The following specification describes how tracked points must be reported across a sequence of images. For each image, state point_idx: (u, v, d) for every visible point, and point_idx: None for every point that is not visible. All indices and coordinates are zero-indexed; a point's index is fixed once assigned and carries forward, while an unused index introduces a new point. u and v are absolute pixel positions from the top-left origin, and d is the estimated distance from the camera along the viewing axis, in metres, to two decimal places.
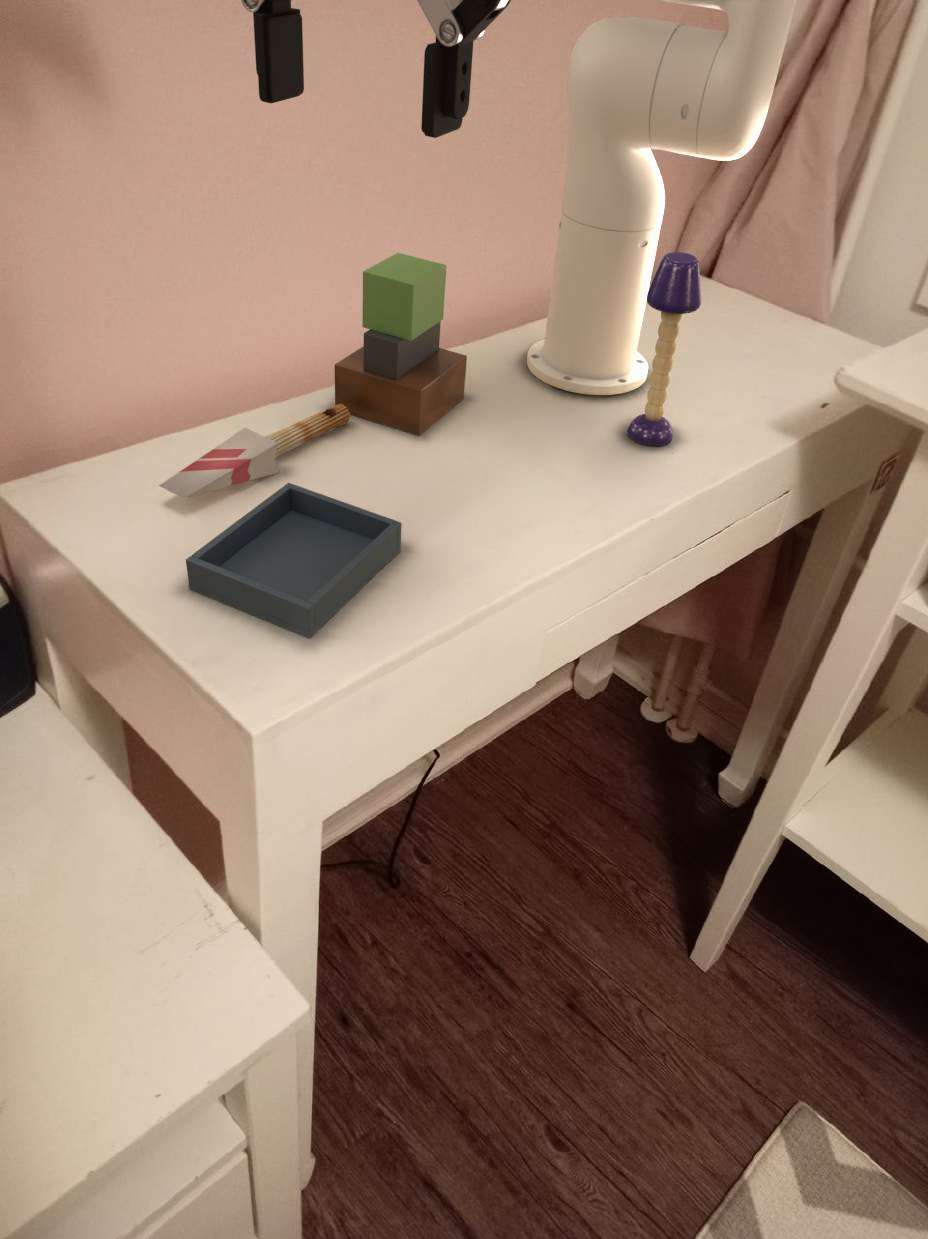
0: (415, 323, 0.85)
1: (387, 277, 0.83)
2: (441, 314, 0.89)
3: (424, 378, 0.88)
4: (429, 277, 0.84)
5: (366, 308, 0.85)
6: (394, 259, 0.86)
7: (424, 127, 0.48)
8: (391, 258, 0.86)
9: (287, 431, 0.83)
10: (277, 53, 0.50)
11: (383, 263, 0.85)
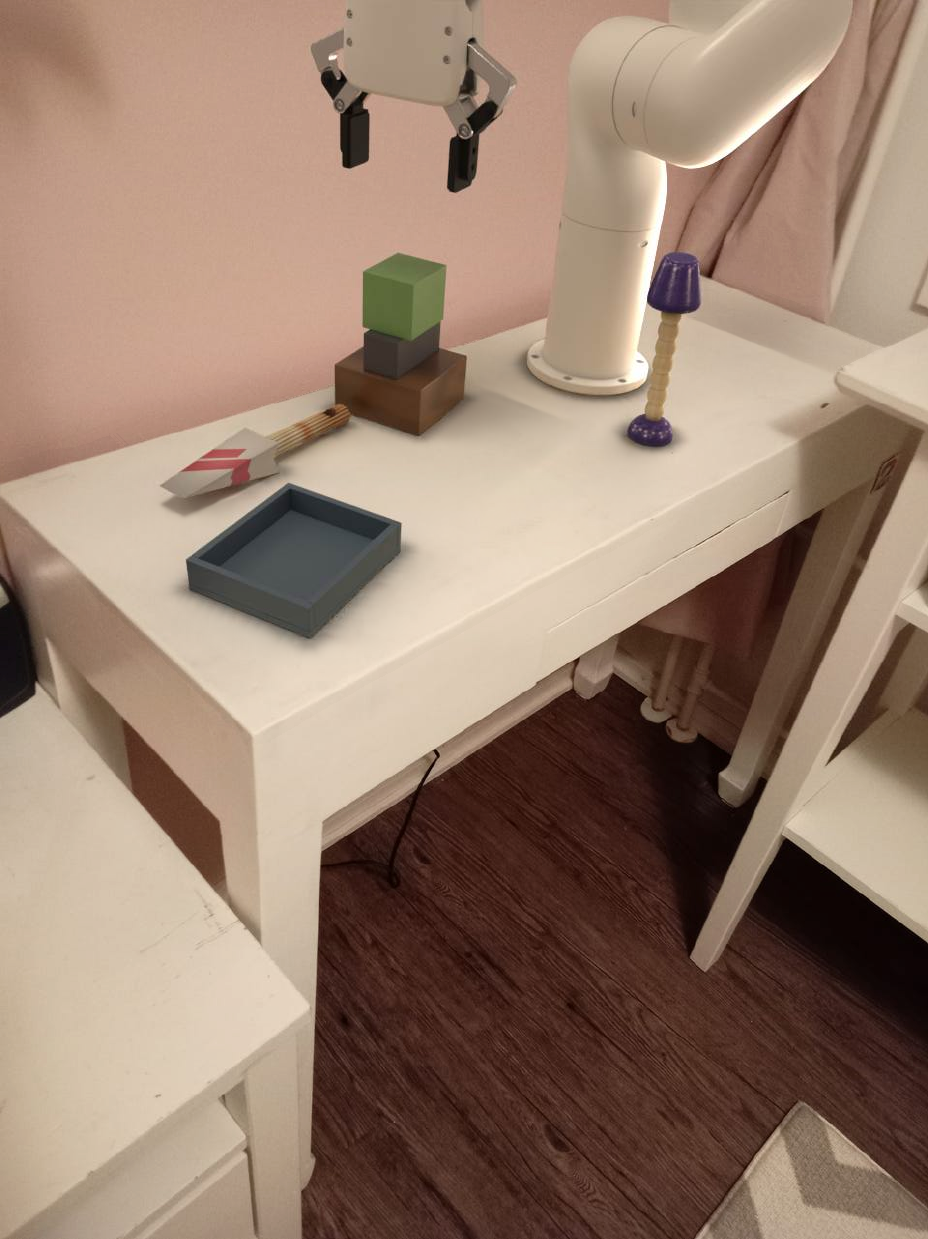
0: (415, 323, 0.85)
1: (387, 277, 0.83)
2: (441, 314, 0.89)
3: (424, 378, 0.88)
4: (429, 277, 0.84)
5: (366, 308, 0.85)
6: (394, 259, 0.86)
7: (448, 187, 0.77)
8: (391, 258, 0.86)
9: (287, 431, 0.83)
10: (354, 138, 0.79)
11: (383, 263, 0.85)
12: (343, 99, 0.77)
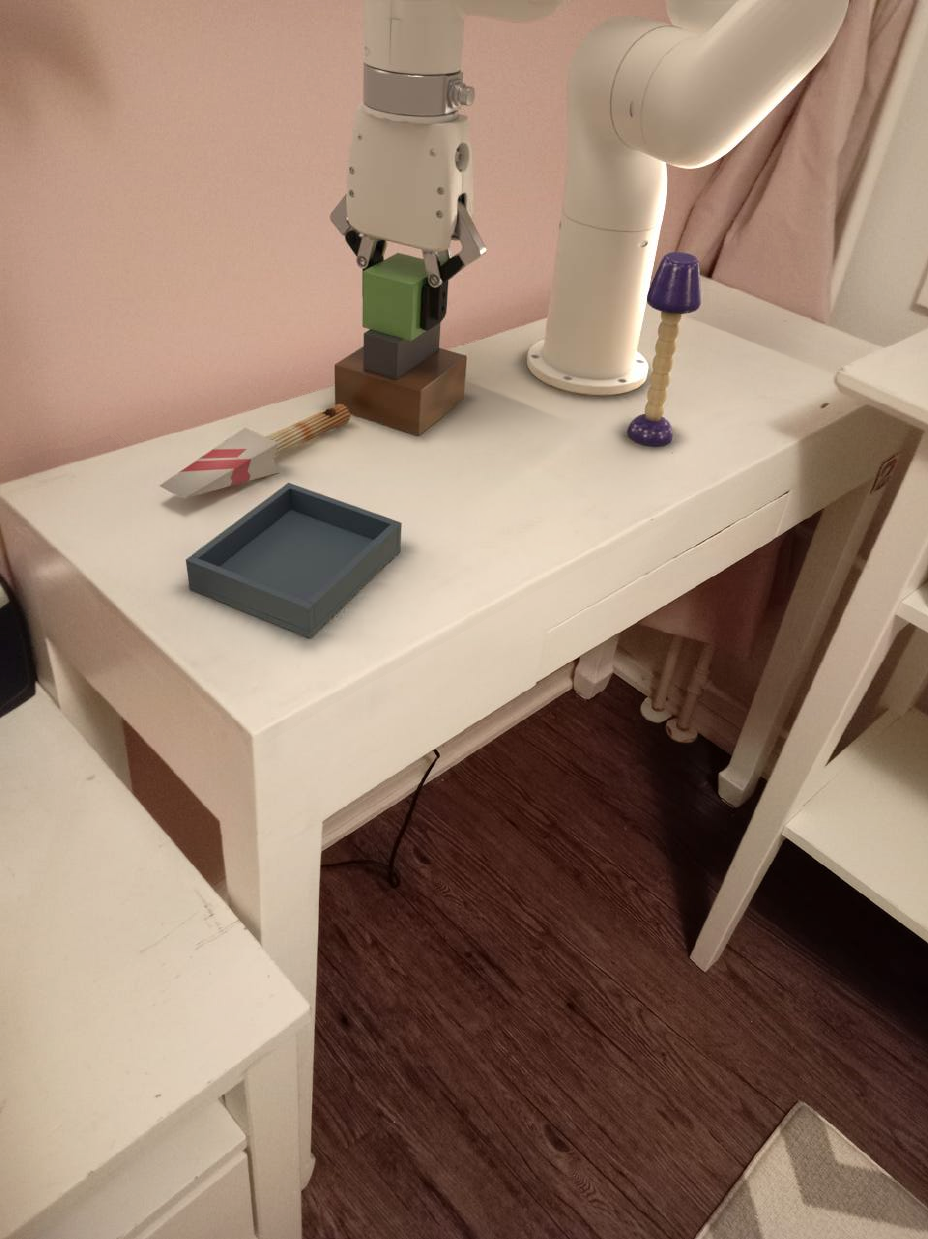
0: (415, 323, 0.85)
1: (387, 277, 0.83)
2: None
3: (424, 378, 0.88)
4: None
5: (366, 308, 0.85)
6: (394, 259, 0.86)
7: (421, 326, 0.86)
8: (391, 258, 0.86)
9: (287, 431, 0.83)
10: None
11: (383, 263, 0.85)
12: (363, 255, 0.85)
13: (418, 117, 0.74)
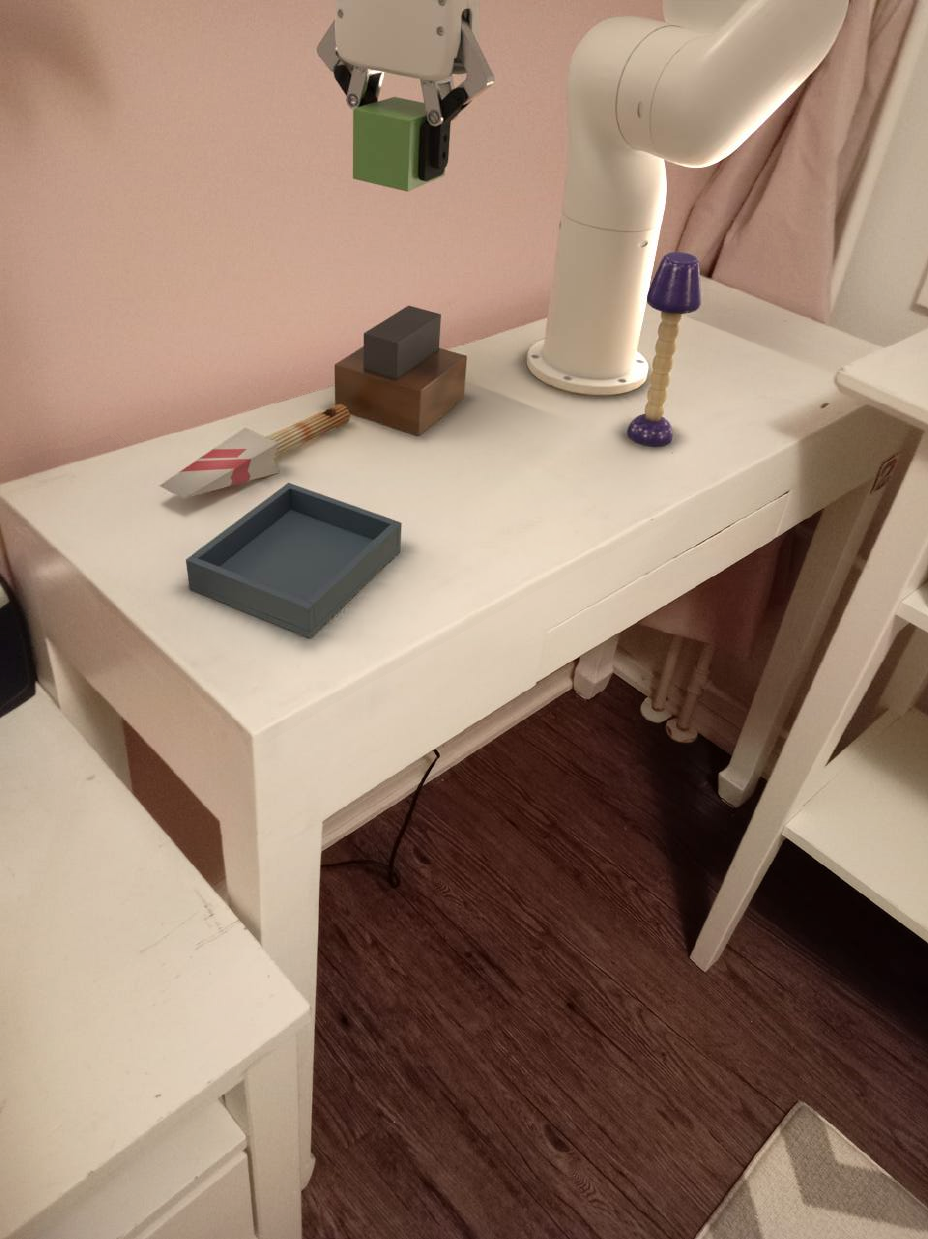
0: (412, 171, 0.74)
1: (380, 114, 0.73)
2: None
3: (424, 378, 0.88)
4: None
5: (357, 154, 0.75)
6: (389, 101, 0.76)
7: (419, 175, 0.75)
8: (386, 100, 0.76)
9: (287, 431, 0.83)
10: None
11: (377, 103, 0.75)
12: (354, 92, 0.74)
13: None
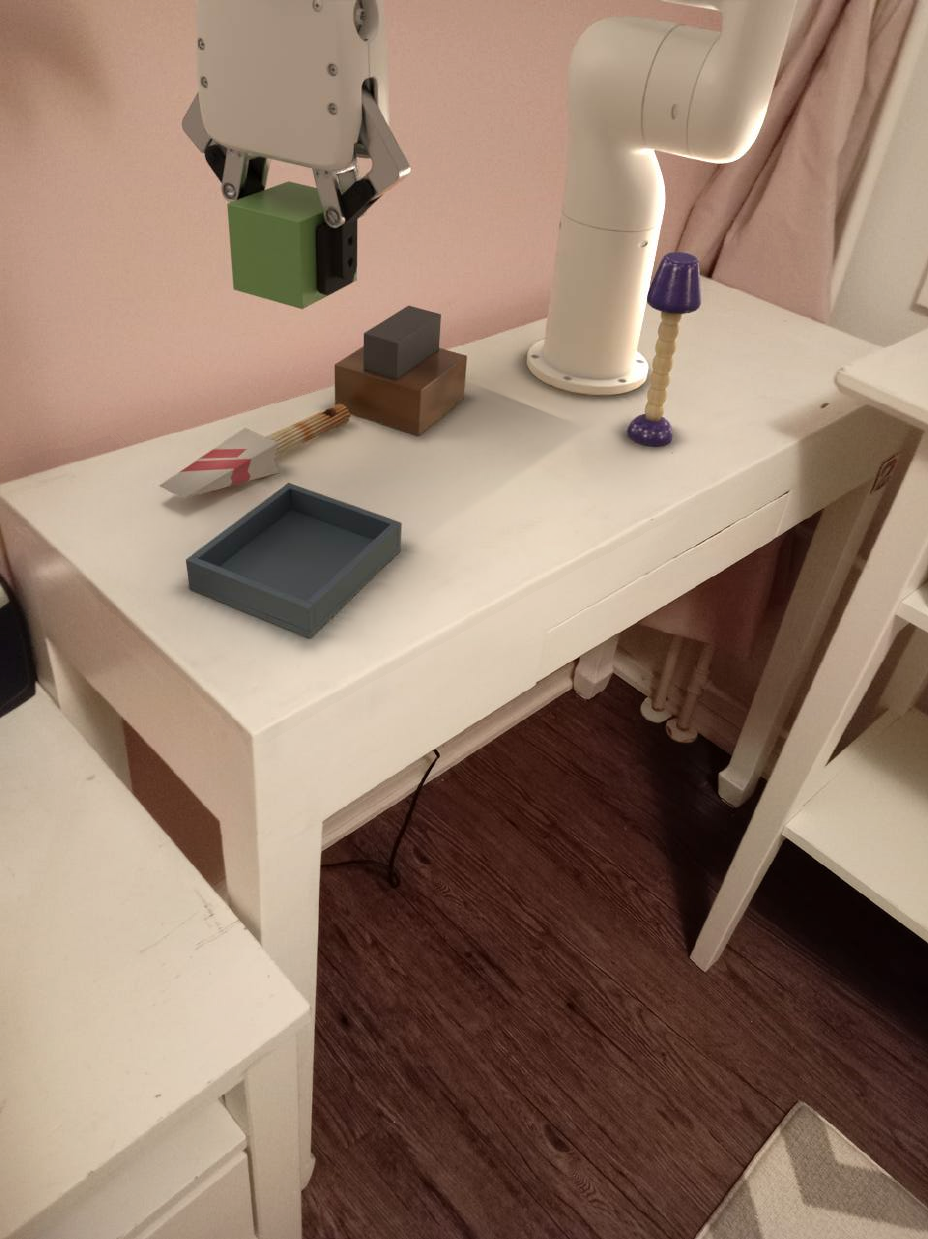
0: (307, 283, 0.57)
1: (262, 212, 0.55)
2: None
3: (424, 378, 0.88)
4: None
5: (236, 260, 0.57)
6: (280, 189, 0.58)
7: (318, 287, 0.58)
8: (276, 188, 0.58)
9: (287, 431, 0.83)
10: None
11: (262, 194, 0.57)
12: (231, 181, 0.57)
13: None
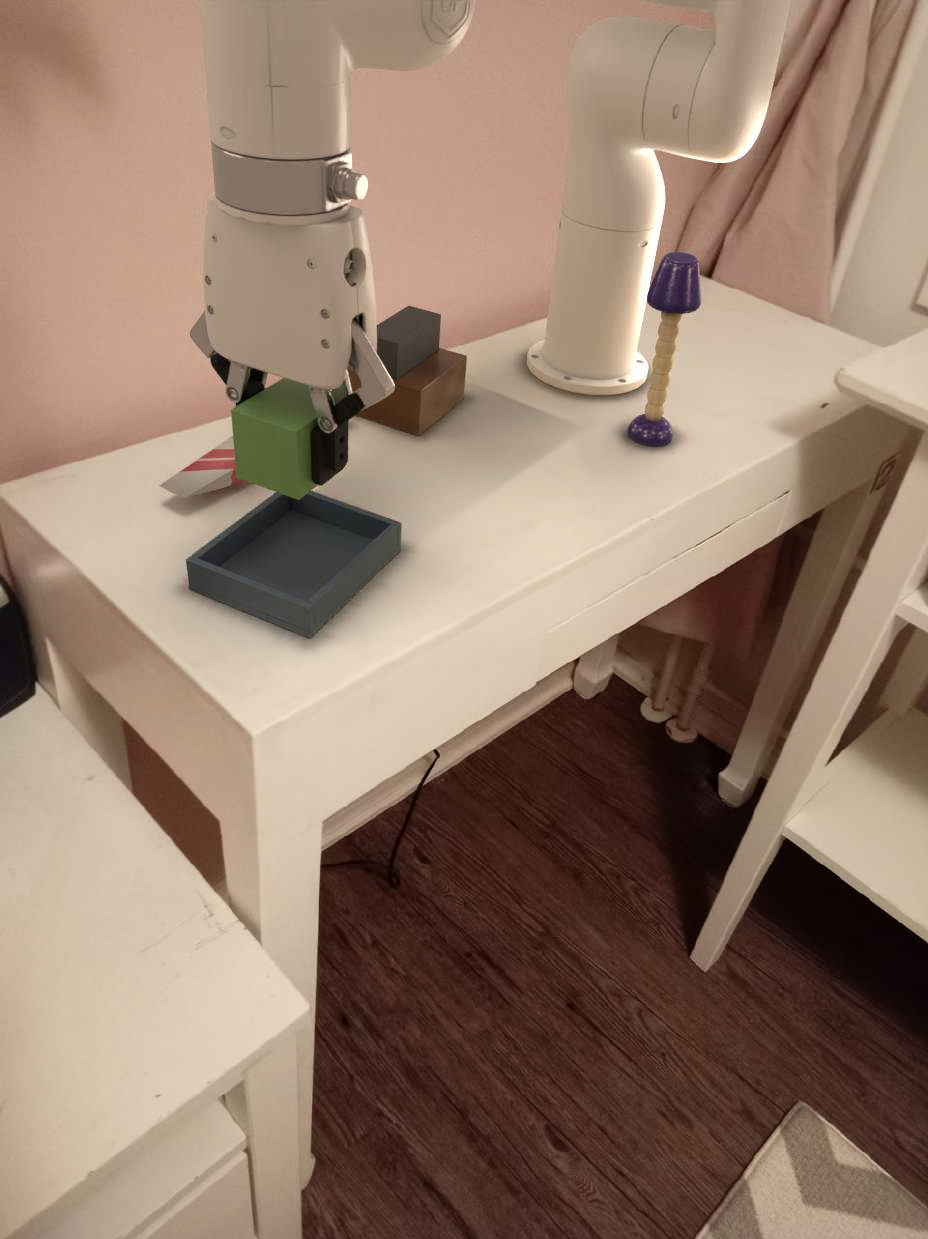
0: (303, 478, 0.63)
1: (262, 419, 0.61)
2: None
3: (424, 378, 0.88)
4: None
5: (239, 455, 0.64)
6: (278, 388, 0.65)
7: (313, 479, 0.64)
8: (275, 386, 0.65)
9: None
10: None
11: (262, 395, 0.64)
12: (234, 386, 0.63)
13: (286, 217, 0.52)
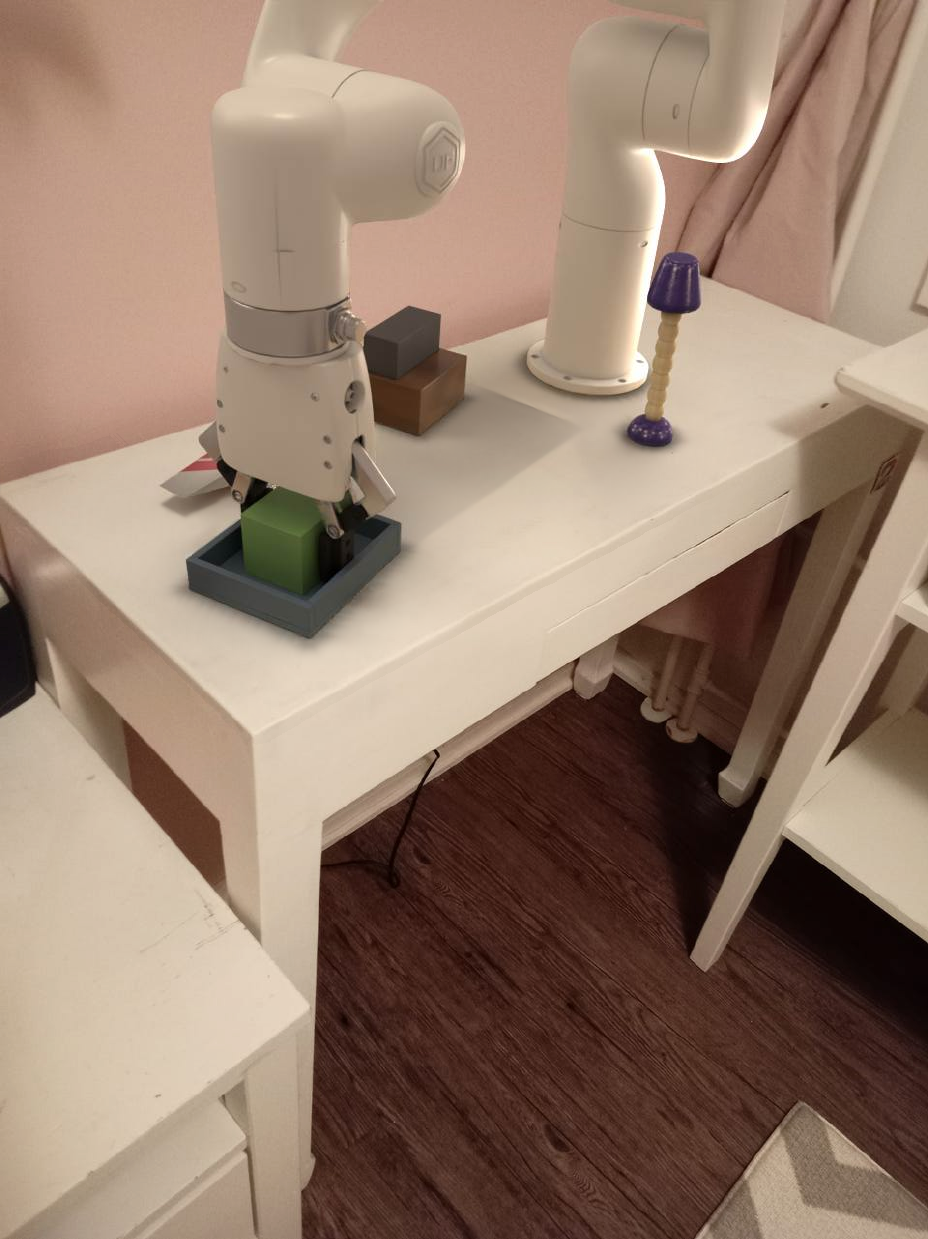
0: (307, 575, 0.68)
1: (269, 525, 0.66)
2: None
3: (424, 378, 0.88)
4: None
5: (247, 554, 0.69)
6: (284, 489, 0.70)
7: (321, 577, 0.69)
8: (280, 488, 0.70)
9: None
10: None
11: (269, 498, 0.69)
12: (239, 490, 0.68)
13: (292, 358, 0.57)
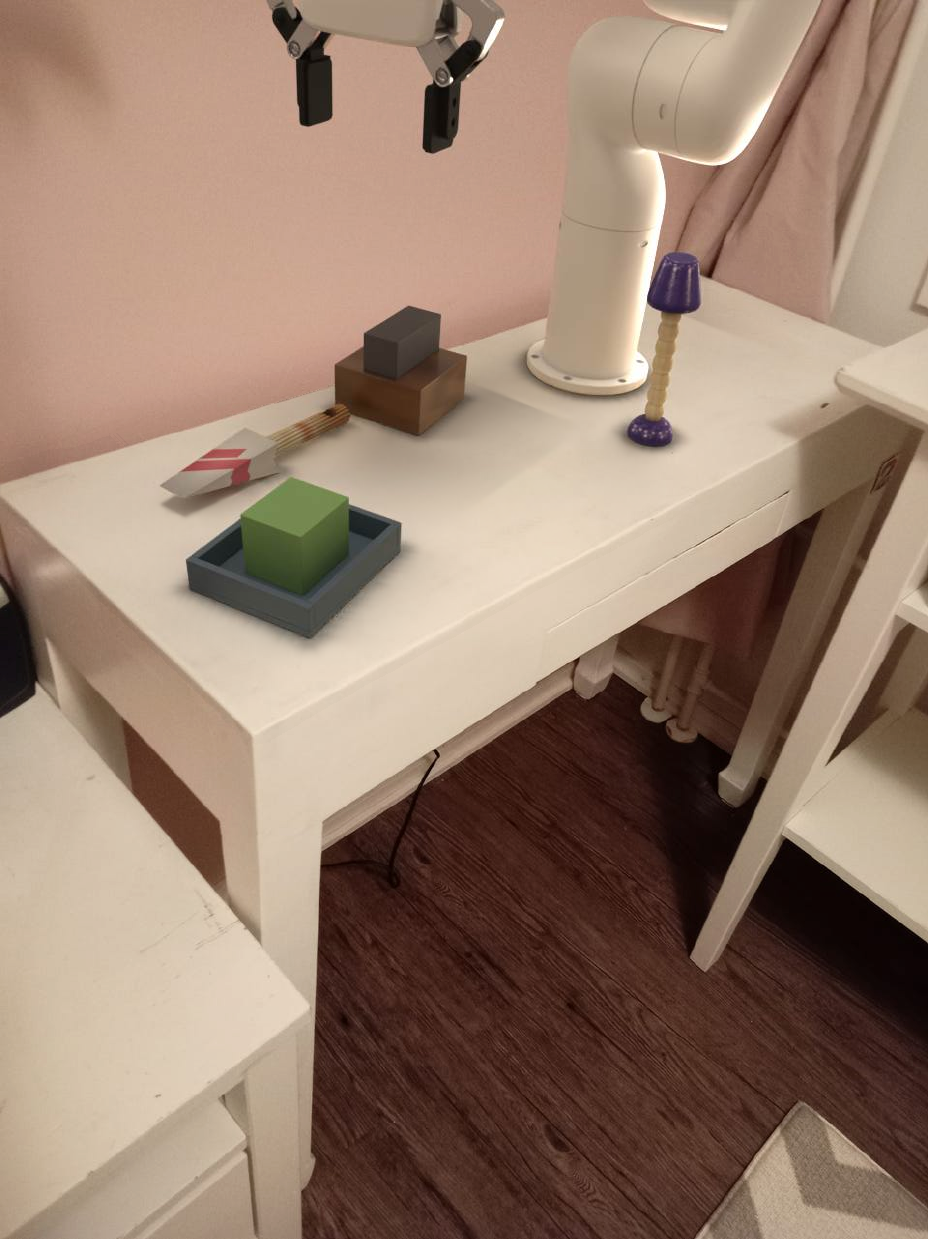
0: (307, 575, 0.68)
1: (269, 525, 0.66)
2: (345, 550, 0.72)
3: (424, 378, 0.88)
4: (324, 519, 0.67)
5: (247, 554, 0.69)
6: (284, 489, 0.70)
7: (424, 146, 0.64)
8: (280, 488, 0.70)
9: (287, 431, 0.83)
10: (313, 89, 0.66)
11: (269, 498, 0.69)
12: (298, 41, 0.64)
13: None
